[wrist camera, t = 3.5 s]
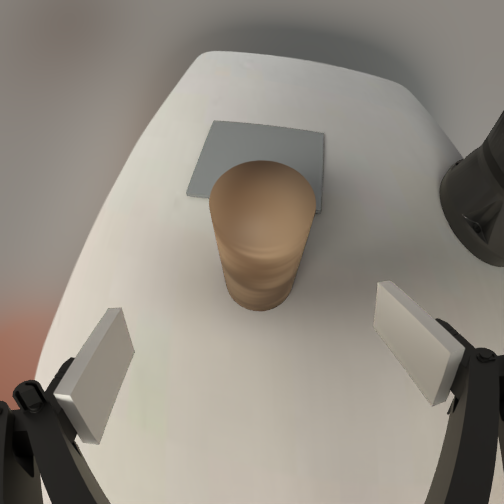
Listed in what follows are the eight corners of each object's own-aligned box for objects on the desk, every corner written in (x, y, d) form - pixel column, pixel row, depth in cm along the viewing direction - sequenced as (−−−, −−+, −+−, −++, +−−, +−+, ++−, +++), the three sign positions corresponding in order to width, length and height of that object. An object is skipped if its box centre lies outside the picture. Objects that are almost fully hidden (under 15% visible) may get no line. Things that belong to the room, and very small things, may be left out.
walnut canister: (295, 254, 29) (318, 167, 18) (288, 315, 26) (312, 254, 16) (232, 245, 29) (222, 155, 19) (220, 304, 27) (197, 237, 16)
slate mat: (322, 136, 36) (323, 133, 36) (319, 213, 31) (320, 210, 30) (214, 123, 37) (213, 120, 37) (187, 195, 32) (186, 192, 32)
